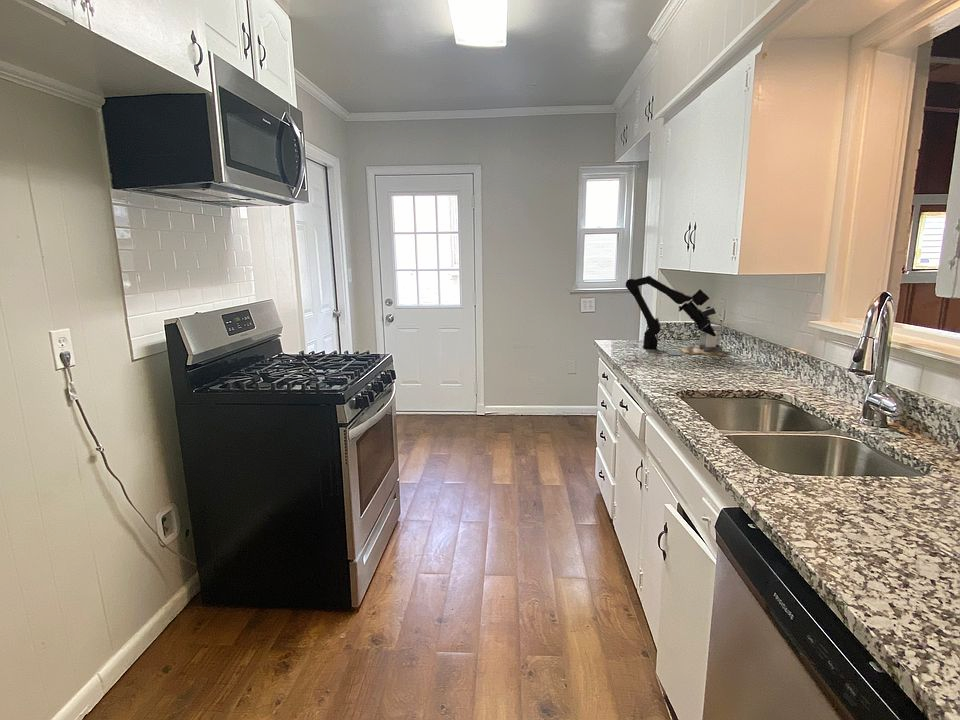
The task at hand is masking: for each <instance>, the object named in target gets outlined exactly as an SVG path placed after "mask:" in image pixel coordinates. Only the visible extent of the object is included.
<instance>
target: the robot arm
mask: <svg viewBox="0 0 960 720" xmlns="http://www.w3.org/2000/svg"><path fill="white" fill-rule="evenodd" d="M644 285H649V286H651V287H652V288H654V289H656V290H657V291H659V292H661V293H663V294H665V295H666V296H667V297H668V298H669V299H671V300H672V301H673V302H674V303H676V304H677V305H679V306H678V312H681V311H683V312H685V314H686V315H688V317H689V318H690V319H691V320H692V321H693V322H694V323H695V325H696V326H697V329H698V330H699V331H703V332H705V333H707V334H710V335H712V336H714V337H715V336H716V334H715V333H714V329H713V328H712V326H711V324H712V322H711V319H710V317H709V316H711V315H716V310H715V308H714V306H710V305H708V306H706V307H705V309H704V310H701V309H699V308H698V306H700V307H701V306H703V305H704V304H705V303H706V302H708V300H710V297H709V296H708V294H706V292H705V291H703V289H701V288H699V289H698V290H697V291H696V292H695V293H694V294H693V295H687V294H686V293H684V292H682V291H679V290H676V289H673V288H671V287H669V286H667V285H665V284H664V283H662V282H660V281H659V280H657V279H655V278H653V277H652V276H651V275H647V276H644V277H640V278H637V279H636V278H634V277H632V278H629V279H627V280H626V281H625V287H626V289H627V290H628V292H629V293H630V294H631V295H632V296H633V297H634V299H635V301H636V303H637V304H638V307H639V309H640V310H641V312H642V315H643V316H644V318H645V321H646V325H647V328H648V329H646V330H645V331H644V335H643V340H642V341H643V343H642V348H643V349H649V350H651V349H653V350H655V349H656V350H657V348H658V344H659V343H658V341H659V339H657V338H658V336H656V335H658V334H659V333H660V332H661V328H662V327H661V326H662V323H661V322H660V320H659V317H657V318H655V317H654V315H653V314H652V311H651V309H650V308H649V306H648V303H647V302H646V300H645V299H644V297H643V295H642V292H641V288H640V286H644Z"/></svg>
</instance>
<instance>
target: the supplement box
mask: <svg viewBox="0 0 960 720" xmlns="http://www.w3.org/2000/svg"><path fill="white" fill-rule="evenodd" d="M711 326H712V328H713V329H714V331H717V339H716V345H719V346H720V342H721V334H722V326H723V325H719V324H713V323H711ZM699 332H700V333H699V339H698V340H699V341H698V348H700V344H706V337H707V333H705V332H703V331H701V330H699Z"/></svg>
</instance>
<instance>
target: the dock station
mask: <svg viewBox="0 0 960 720" xmlns="http://www.w3.org/2000/svg"><path fill="white" fill-rule="evenodd" d="M679 351H680V352H681V353H682V354H684V355H705V356H706V355H707V356H723V353H722V352H723V347H722V346H721V345H720V344H719V345H716V347H706V344H700V347H698V348H697V347H696V348H695V347H694V345H693V344H691V343H687V344H686V347H679Z"/></svg>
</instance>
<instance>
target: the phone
mask: <svg viewBox="0 0 960 720" xmlns="http://www.w3.org/2000/svg"><path fill="white" fill-rule="evenodd" d="M666 353H667V356H669V357H670V356H671V357H683V355H682V354H683V353H682V351H681V350H669V349H667V350H666Z"/></svg>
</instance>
